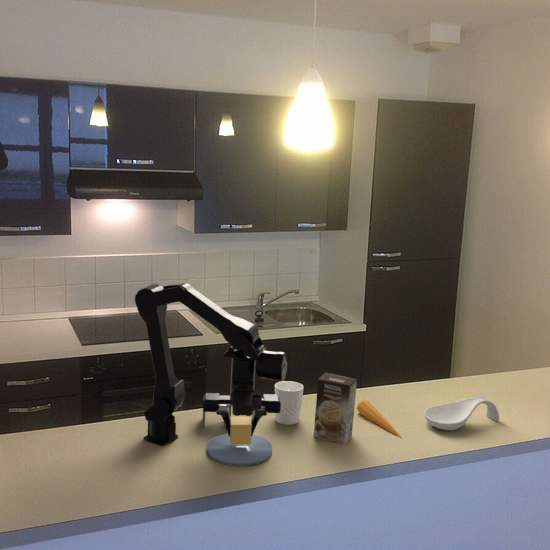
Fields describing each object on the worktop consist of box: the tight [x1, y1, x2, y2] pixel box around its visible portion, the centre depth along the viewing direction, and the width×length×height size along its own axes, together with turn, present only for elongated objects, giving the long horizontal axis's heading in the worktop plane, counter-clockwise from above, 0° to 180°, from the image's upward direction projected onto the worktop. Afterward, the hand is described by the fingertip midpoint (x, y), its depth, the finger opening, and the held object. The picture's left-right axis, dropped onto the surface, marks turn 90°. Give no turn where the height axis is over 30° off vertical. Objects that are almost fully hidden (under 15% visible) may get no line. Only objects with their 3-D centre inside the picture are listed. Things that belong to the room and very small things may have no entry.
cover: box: [201, 395, 232, 430], centre depth 182 cm, size 7×7×7 cm
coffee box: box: [313, 372, 358, 445], centre depth 177 cm, size 9×6×16 cm
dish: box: [206, 433, 273, 467], centre depth 167 cm, size 16×16×1 cm
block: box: [230, 416, 252, 444], centre depth 166 cm, size 5×5×5 cm
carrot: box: [356, 399, 404, 439], centre depth 188 cm, size 20×4×4 cm, turn 27°
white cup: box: [274, 380, 304, 426], centre depth 187 cm, size 8×8×10 cm
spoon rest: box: [423, 396, 500, 432], centre depth 191 cm, size 24×12×7 cm, turn 116°
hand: (240, 435), depth 167 cm, fingers closed on block, 5 cm apart
